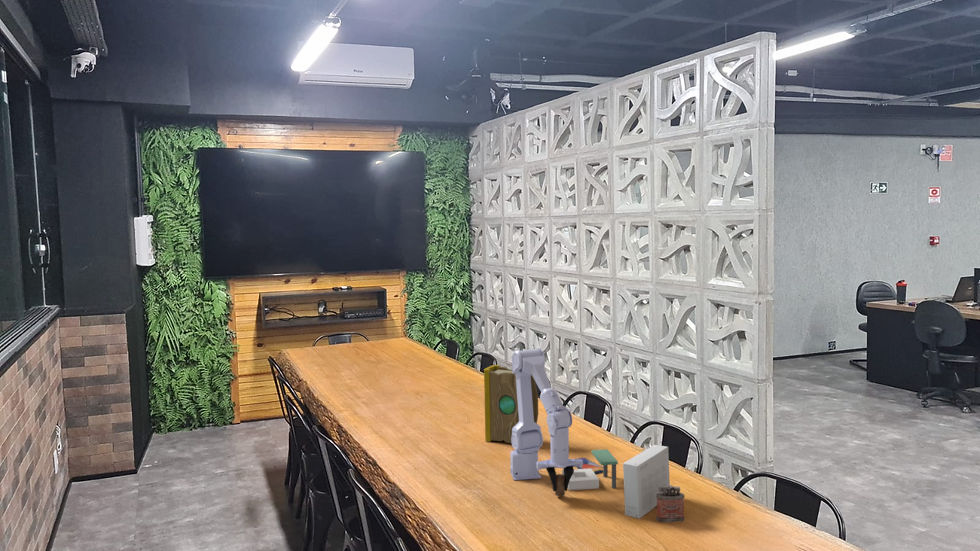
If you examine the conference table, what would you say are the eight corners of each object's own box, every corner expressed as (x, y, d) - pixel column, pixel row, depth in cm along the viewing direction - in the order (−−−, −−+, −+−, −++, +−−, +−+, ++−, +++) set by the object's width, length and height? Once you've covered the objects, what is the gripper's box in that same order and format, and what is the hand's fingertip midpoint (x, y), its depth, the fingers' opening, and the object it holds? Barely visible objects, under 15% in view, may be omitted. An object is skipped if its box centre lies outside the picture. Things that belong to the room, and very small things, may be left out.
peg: (556, 496, 215) (556, 477, 214) (554, 492, 218) (554, 474, 217) (565, 495, 215) (565, 477, 215) (563, 492, 218) (563, 473, 218)
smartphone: (583, 460, 251) (583, 457, 251) (607, 472, 238) (607, 469, 238) (566, 463, 248) (566, 460, 248) (589, 476, 235) (589, 473, 235)
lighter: (682, 516, 201) (682, 483, 200) (685, 521, 197) (685, 487, 197) (654, 517, 200) (654, 484, 200) (658, 522, 197) (658, 488, 196)
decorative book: (482, 441, 273) (481, 367, 271) (495, 433, 283) (494, 361, 280) (528, 448, 264) (528, 371, 261) (540, 440, 274) (539, 366, 271)
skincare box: (654, 492, 219) (654, 443, 218) (670, 496, 216) (670, 446, 215) (622, 514, 203) (622, 462, 202) (639, 519, 200) (639, 466, 198)
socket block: (568, 490, 222) (568, 481, 222) (562, 478, 232) (562, 470, 232) (599, 488, 223) (598, 479, 223) (591, 477, 233) (591, 468, 233)
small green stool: (601, 489, 222) (601, 462, 221) (591, 475, 234) (591, 450, 233) (617, 488, 223) (617, 461, 222) (607, 474, 235) (607, 449, 234)
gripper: (539, 453, 211) (539, 496, 212) (585, 450, 212) (585, 493, 213) (535, 445, 218) (535, 487, 219) (579, 443, 219) (580, 484, 220)
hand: (559, 489), depth 216 cm, fingers closed on peg, 3 cm apart
